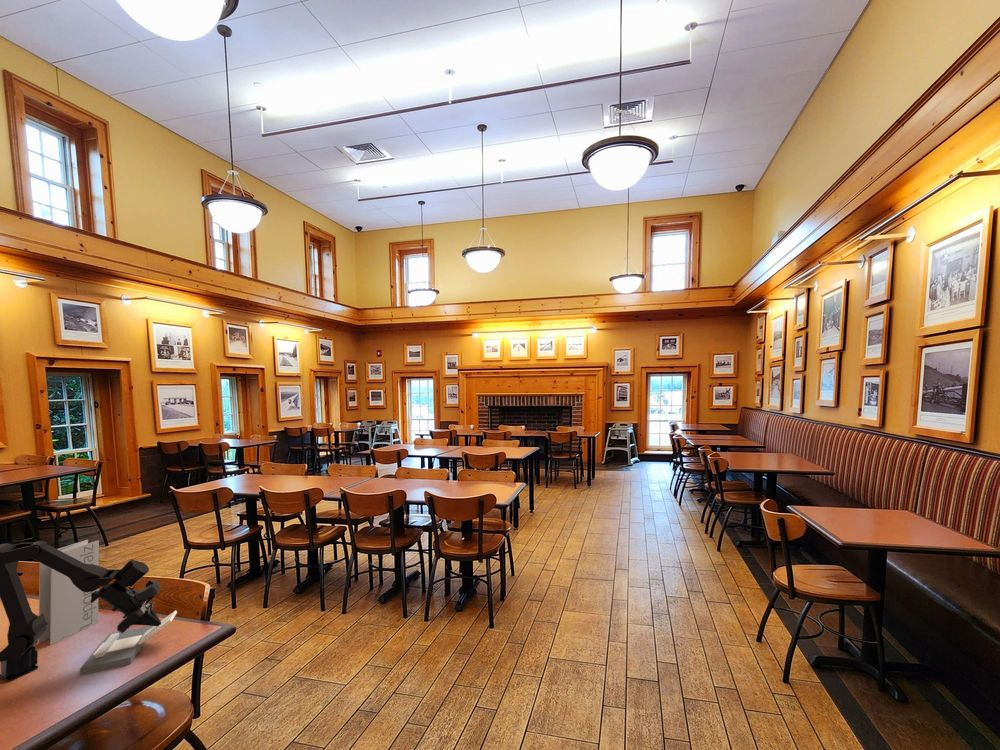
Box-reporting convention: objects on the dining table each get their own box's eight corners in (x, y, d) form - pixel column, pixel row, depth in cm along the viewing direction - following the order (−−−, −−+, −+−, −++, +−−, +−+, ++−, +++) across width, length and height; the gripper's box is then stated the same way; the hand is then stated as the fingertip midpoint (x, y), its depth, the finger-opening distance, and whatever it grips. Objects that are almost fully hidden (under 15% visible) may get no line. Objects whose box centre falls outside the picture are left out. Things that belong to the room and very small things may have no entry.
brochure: (50, 644, 143) (51, 555, 144) (38, 643, 144) (39, 554, 145) (98, 622, 157) (98, 540, 158) (86, 620, 158) (87, 539, 159)
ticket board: (80, 675, 127) (80, 663, 127) (109, 639, 145) (109, 629, 145) (130, 663, 132) (130, 652, 132) (152, 630, 150) (152, 621, 150)
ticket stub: (137, 643, 138) (169, 620, 141) (145, 632, 144) (175, 610, 148) (139, 645, 138) (171, 621, 142) (147, 634, 144) (177, 612, 148)
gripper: (132, 588, 133) (173, 617, 137) (152, 566, 150) (188, 592, 154) (98, 619, 130) (141, 647, 133) (122, 593, 147) (160, 619, 150)
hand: (159, 624), depth 143 cm, fingers closed, pressing on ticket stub
